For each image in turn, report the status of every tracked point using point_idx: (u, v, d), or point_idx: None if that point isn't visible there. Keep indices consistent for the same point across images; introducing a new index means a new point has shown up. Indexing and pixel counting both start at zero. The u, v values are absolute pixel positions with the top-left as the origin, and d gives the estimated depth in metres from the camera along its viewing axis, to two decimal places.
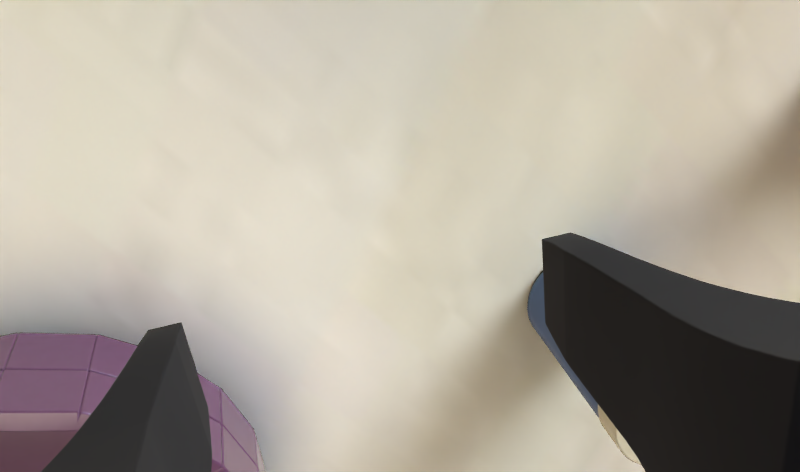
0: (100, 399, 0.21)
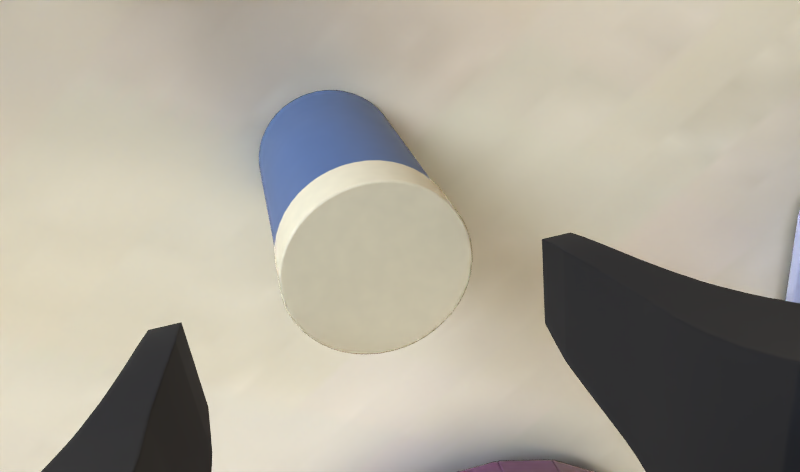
0: None
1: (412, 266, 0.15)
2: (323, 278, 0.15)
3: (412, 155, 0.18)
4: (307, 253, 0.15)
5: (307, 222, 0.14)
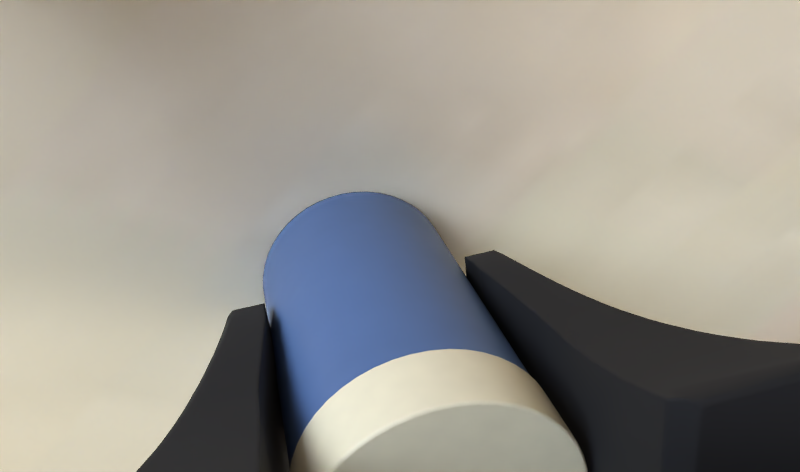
0: None
1: None
2: None
3: (483, 306, 0.12)
4: None
5: (343, 470, 0.09)
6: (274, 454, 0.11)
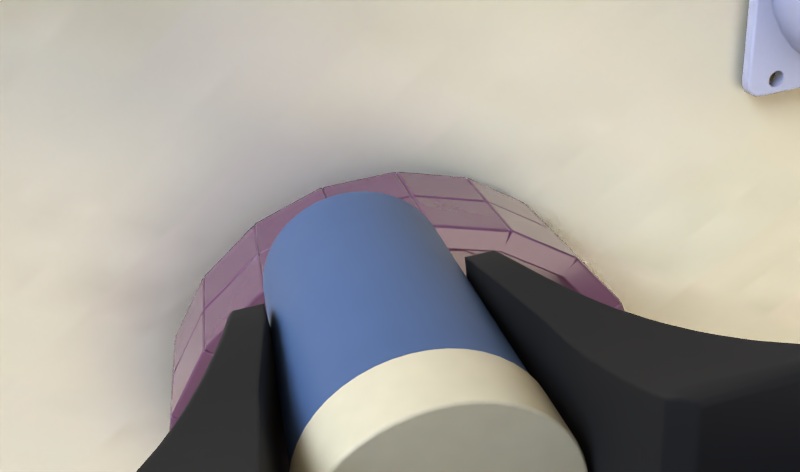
0: (177, 387, 0.20)
1: None
2: None
3: (482, 306, 0.12)
4: None
5: (343, 469, 0.09)
6: (274, 454, 0.11)
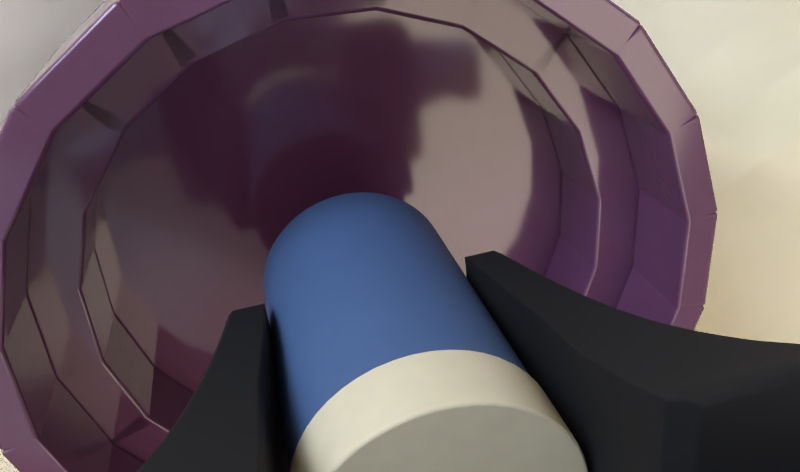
0: None
1: None
2: None
3: (483, 307, 0.12)
4: None
5: (343, 470, 0.09)
6: (274, 454, 0.11)
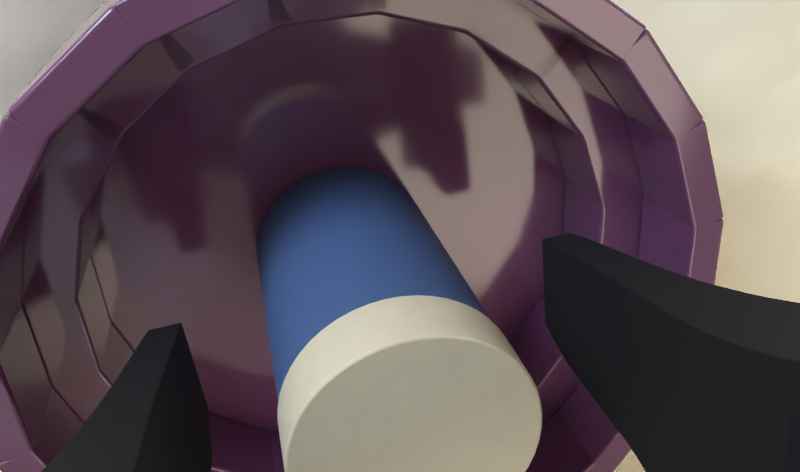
0: None
1: (463, 438, 0.11)
2: (344, 461, 0.11)
3: (454, 266, 0.14)
4: (323, 432, 0.11)
5: (323, 395, 0.10)
6: None
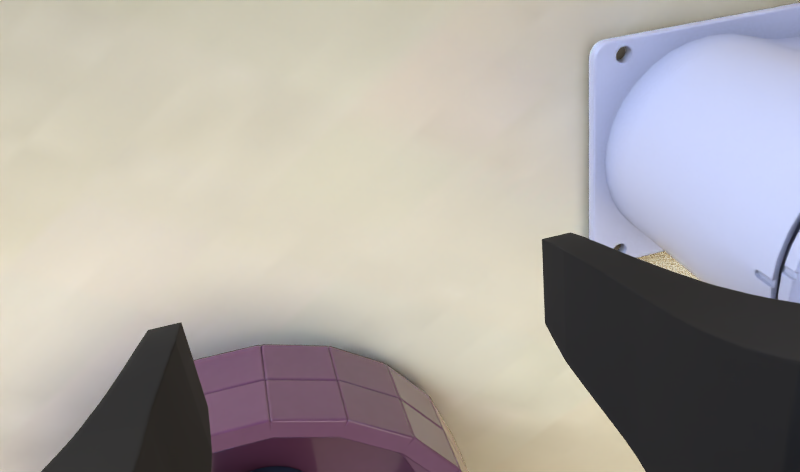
0: None
1: None
2: None
3: None
4: None
5: None
6: None
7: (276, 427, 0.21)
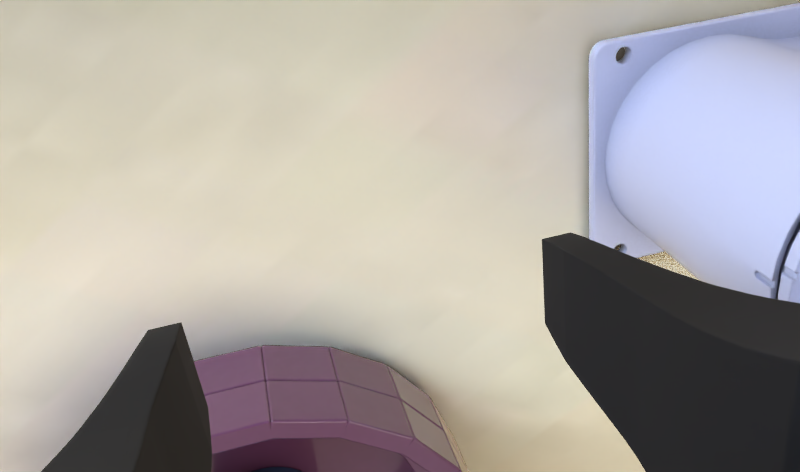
0: None
1: None
2: None
3: None
4: None
5: None
6: None
7: (276, 428, 0.21)
